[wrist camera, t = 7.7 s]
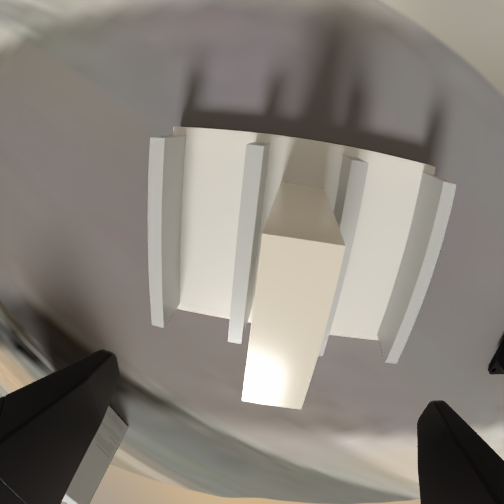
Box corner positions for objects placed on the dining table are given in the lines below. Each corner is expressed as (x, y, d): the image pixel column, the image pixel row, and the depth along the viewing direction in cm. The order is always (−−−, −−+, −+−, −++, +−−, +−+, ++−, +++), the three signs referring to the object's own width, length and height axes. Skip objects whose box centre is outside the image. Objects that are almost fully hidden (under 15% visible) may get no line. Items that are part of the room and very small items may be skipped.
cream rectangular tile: (324, 188, 17) (345, 245, 9) (304, 298, 20) (301, 409, 11) (281, 182, 17) (261, 233, 9) (266, 293, 20) (241, 400, 12)
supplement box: (57, 384, 30) (2, 455, 19) (94, 383, 28) (35, 470, 17) (90, 425, 33) (48, 496, 21) (131, 428, 31) (87, 512, 19)
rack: (429, 164, 16) (458, 175, 13) (382, 332, 21) (393, 369, 17) (179, 126, 18) (150, 127, 14) (174, 300, 22) (152, 331, 19)
